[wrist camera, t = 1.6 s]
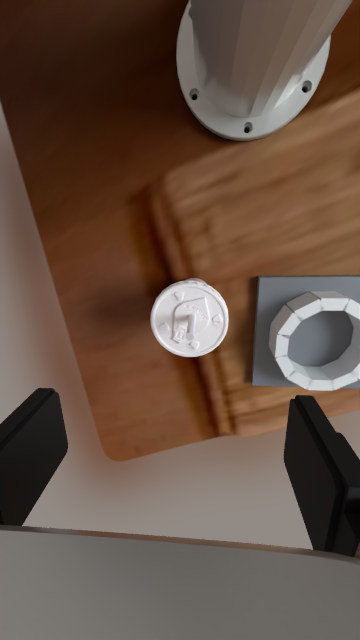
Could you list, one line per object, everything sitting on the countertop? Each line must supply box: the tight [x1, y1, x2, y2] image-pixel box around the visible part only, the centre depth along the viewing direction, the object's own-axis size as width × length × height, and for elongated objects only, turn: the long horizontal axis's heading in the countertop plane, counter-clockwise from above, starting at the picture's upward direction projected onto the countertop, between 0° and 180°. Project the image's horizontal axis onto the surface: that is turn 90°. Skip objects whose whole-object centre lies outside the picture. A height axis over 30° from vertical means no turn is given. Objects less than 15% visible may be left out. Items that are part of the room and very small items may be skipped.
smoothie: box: [151, 278, 228, 357], centre depth 25 cm, size 6×6×14 cm
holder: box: [251, 275, 360, 391], centre depth 30 cm, size 13×13×4 cm
